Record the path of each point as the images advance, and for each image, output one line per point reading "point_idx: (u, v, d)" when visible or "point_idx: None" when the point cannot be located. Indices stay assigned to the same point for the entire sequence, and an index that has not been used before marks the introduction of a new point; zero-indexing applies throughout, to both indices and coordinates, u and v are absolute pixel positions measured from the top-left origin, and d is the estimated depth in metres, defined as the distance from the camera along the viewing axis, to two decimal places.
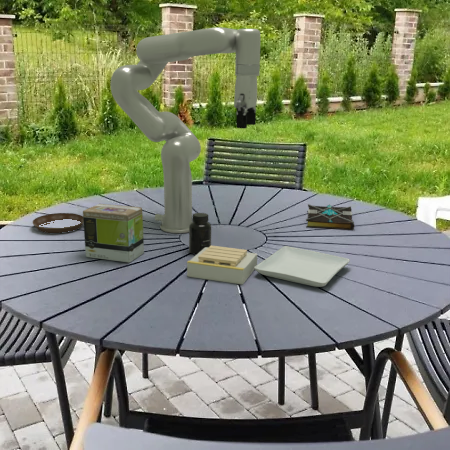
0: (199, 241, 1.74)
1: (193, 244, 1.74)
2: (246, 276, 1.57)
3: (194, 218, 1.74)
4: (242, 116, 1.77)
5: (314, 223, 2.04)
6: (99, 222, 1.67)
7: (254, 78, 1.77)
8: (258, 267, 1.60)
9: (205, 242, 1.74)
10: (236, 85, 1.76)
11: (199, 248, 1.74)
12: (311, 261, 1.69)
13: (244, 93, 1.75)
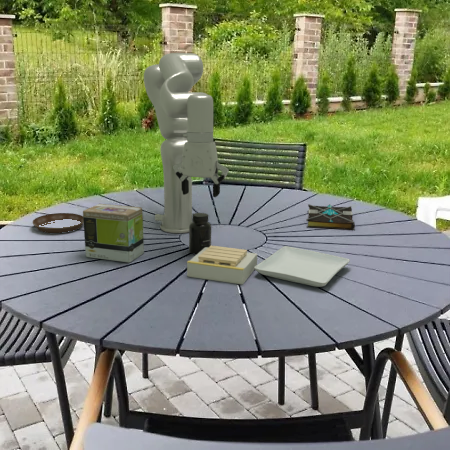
0: (199, 241, 1.74)
1: (193, 244, 1.74)
2: (246, 276, 1.57)
3: (194, 218, 1.74)
4: (219, 184, 1.70)
5: (314, 223, 2.04)
6: (100, 222, 1.67)
7: None
8: (258, 267, 1.60)
9: (205, 242, 1.74)
10: (212, 154, 1.66)
11: (199, 248, 1.74)
12: (311, 261, 1.69)
13: (217, 160, 1.69)
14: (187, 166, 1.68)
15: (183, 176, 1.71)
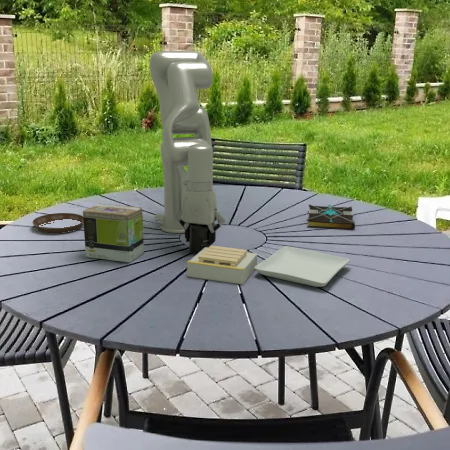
0: (199, 241, 1.74)
1: (193, 244, 1.74)
2: (246, 276, 1.57)
3: None
4: (215, 232, 1.75)
5: (315, 223, 2.04)
6: (99, 222, 1.67)
7: None
8: (258, 267, 1.60)
9: (205, 242, 1.74)
10: (212, 202, 1.70)
11: (199, 248, 1.74)
12: (311, 261, 1.69)
13: (216, 209, 1.73)
14: (187, 213, 1.73)
15: (186, 224, 1.76)
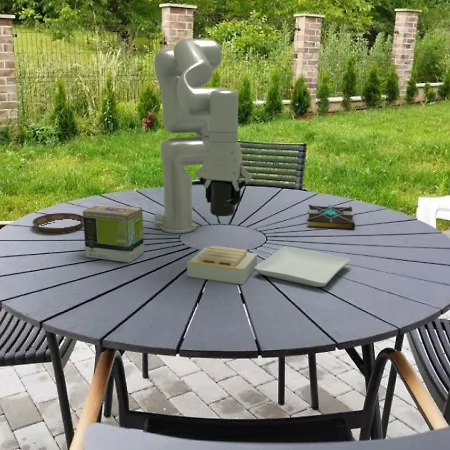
0: (222, 200, 1.54)
1: (215, 204, 1.55)
2: (246, 276, 1.57)
3: None
4: (240, 190, 1.55)
5: (315, 223, 2.04)
6: (100, 222, 1.67)
7: None
8: (258, 267, 1.60)
9: (229, 201, 1.54)
10: (237, 155, 1.50)
11: (223, 208, 1.54)
12: (311, 261, 1.69)
13: (241, 164, 1.53)
14: (209, 169, 1.53)
15: (207, 182, 1.56)
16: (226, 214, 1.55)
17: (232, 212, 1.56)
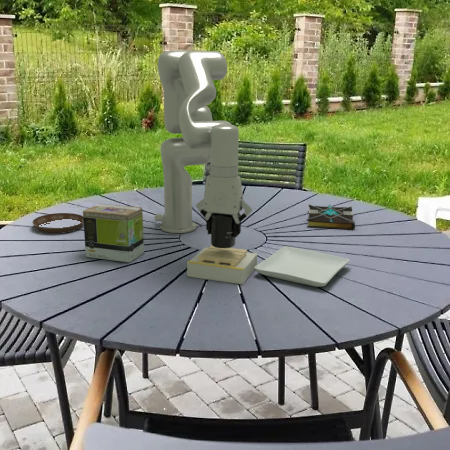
0: (222, 233, 1.56)
1: (216, 237, 1.57)
2: (246, 276, 1.57)
3: None
4: (240, 222, 1.57)
5: (315, 223, 2.04)
6: (100, 222, 1.67)
7: None
8: (258, 267, 1.60)
9: (229, 234, 1.56)
10: (238, 189, 1.52)
11: (223, 240, 1.56)
12: (311, 261, 1.69)
13: (242, 197, 1.55)
14: (209, 202, 1.55)
15: (207, 214, 1.58)
16: (226, 246, 1.57)
17: (232, 244, 1.58)
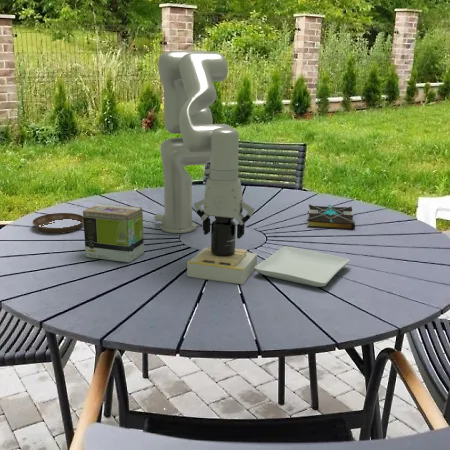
0: (222, 241, 1.57)
1: (216, 245, 1.58)
2: (246, 276, 1.57)
3: None
4: (244, 224, 1.57)
5: (315, 223, 2.04)
6: (100, 222, 1.67)
7: None
8: (258, 267, 1.60)
9: (229, 242, 1.57)
10: (238, 193, 1.53)
11: (223, 249, 1.57)
12: (311, 261, 1.69)
13: (242, 199, 1.56)
14: (209, 205, 1.55)
15: (205, 215, 1.58)
16: (226, 254, 1.58)
17: (232, 252, 1.59)
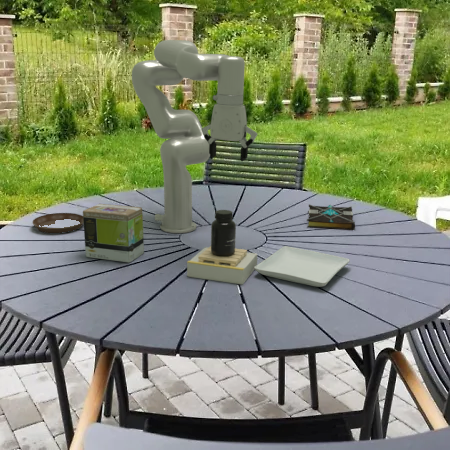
0: (222, 241, 1.57)
1: (216, 245, 1.58)
2: (246, 276, 1.57)
3: (217, 215, 1.57)
4: (247, 147, 1.70)
5: (315, 223, 2.04)
6: (100, 222, 1.67)
7: None
8: (258, 267, 1.60)
9: (229, 242, 1.57)
10: (242, 117, 1.65)
11: (223, 249, 1.57)
12: (311, 261, 1.69)
13: (246, 124, 1.68)
14: (216, 129, 1.68)
15: (211, 139, 1.71)
16: (226, 254, 1.58)
17: (232, 252, 1.59)
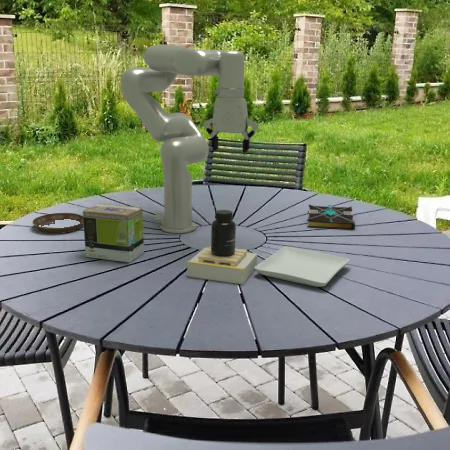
0: (222, 241, 1.57)
1: (216, 245, 1.58)
2: (246, 276, 1.57)
3: (217, 215, 1.57)
4: (249, 139, 1.74)
5: (315, 223, 2.04)
6: (100, 222, 1.67)
7: None
8: (258, 267, 1.60)
9: (229, 242, 1.57)
10: (243, 109, 1.70)
11: (223, 249, 1.57)
12: (311, 261, 1.69)
13: (247, 116, 1.73)
14: (218, 122, 1.72)
15: (213, 132, 1.75)
16: (226, 254, 1.58)
17: (232, 252, 1.59)
